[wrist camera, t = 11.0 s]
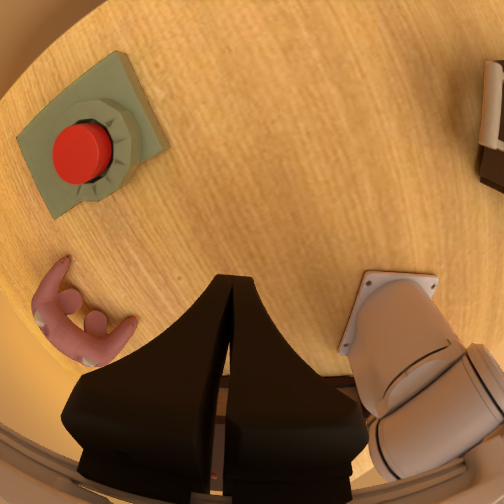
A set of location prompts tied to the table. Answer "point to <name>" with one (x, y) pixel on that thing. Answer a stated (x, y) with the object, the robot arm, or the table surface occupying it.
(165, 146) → the olive button base
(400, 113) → the table surface
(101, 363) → the pink pronged piece
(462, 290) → the table surface
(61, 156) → the button
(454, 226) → the table surface
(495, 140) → the drawer
